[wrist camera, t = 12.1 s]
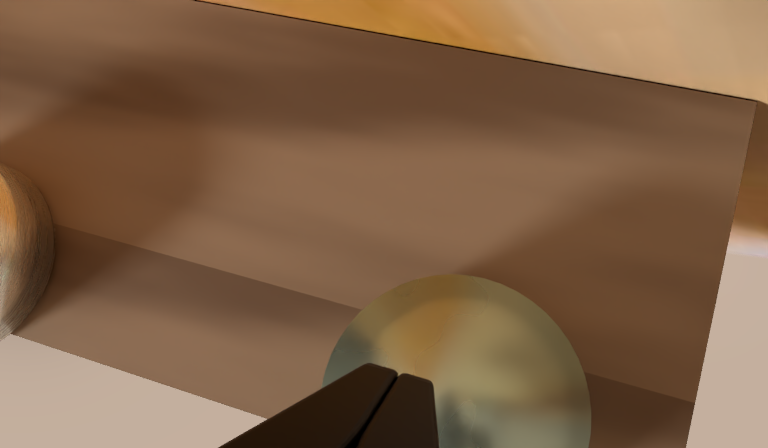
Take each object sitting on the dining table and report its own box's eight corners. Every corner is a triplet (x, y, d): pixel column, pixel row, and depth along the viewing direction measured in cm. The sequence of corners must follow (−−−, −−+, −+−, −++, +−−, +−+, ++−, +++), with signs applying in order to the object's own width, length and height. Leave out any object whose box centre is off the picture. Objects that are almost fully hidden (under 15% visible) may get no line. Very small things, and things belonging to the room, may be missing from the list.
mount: (-51, -44, 21) (-184, 269, 19) (757, 101, 15) (664, 549, 14) (57, 37, 25) (-42, 293, 24) (701, 169, 20) (628, 508, 19)
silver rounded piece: (-140, 118, 17) (-226, 317, 16) (30, 161, 16) (-53, 379, 15) (59, 198, 25) (7, 339, 24) (186, 232, 23) (135, 381, 23)
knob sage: (361, 246, 14) (286, 501, 13) (619, 313, 13) (554, 598, 12) (417, 295, 21) (371, 460, 21) (585, 340, 20) (542, 517, 19)
